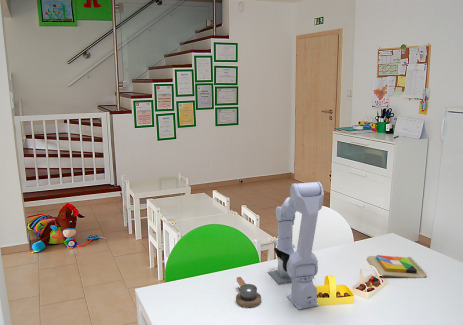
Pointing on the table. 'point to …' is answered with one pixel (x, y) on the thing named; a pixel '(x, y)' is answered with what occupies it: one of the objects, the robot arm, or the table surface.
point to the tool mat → (279, 278)
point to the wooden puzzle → (396, 266)
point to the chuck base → (248, 303)
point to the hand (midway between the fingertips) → (284, 268)
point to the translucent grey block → (281, 268)
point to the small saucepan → (247, 290)
